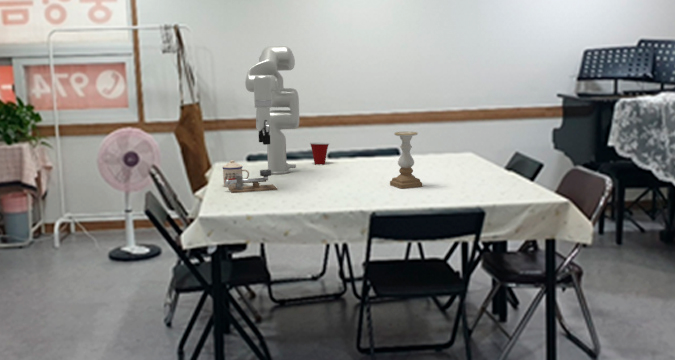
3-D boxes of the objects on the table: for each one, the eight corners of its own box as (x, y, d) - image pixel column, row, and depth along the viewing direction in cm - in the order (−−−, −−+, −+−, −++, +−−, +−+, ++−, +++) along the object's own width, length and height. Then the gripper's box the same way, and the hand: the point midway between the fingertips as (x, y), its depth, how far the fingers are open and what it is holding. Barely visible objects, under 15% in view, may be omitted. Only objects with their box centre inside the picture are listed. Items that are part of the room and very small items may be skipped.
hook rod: (270, 180, 304) (270, 169, 303) (272, 182, 300) (272, 170, 299) (224, 183, 299) (223, 172, 298) (225, 185, 294) (225, 173, 293)
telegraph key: (272, 186, 308) (272, 170, 306) (277, 189, 298) (276, 174, 297) (228, 189, 302) (227, 173, 301) (231, 193, 293) (231, 177, 291)
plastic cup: (333, 163, 375) (333, 141, 373) (322, 165, 366) (322, 143, 364) (317, 162, 380) (316, 140, 378) (306, 164, 371) (305, 142, 369)
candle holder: (389, 185, 305) (389, 132, 301) (410, 183, 310) (410, 130, 306) (401, 188, 295) (401, 134, 291) (422, 186, 300) (423, 132, 296)
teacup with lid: (221, 187, 306) (220, 162, 304) (224, 183, 315) (223, 159, 313) (248, 187, 307) (247, 161, 305) (250, 183, 315) (249, 158, 314)
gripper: (251, 103, 303) (252, 141, 305) (258, 105, 286) (259, 145, 289) (267, 103, 305) (269, 141, 308) (275, 104, 288) (276, 144, 291)
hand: (264, 143), depth 298 cm, fingers open, 9 cm apart
